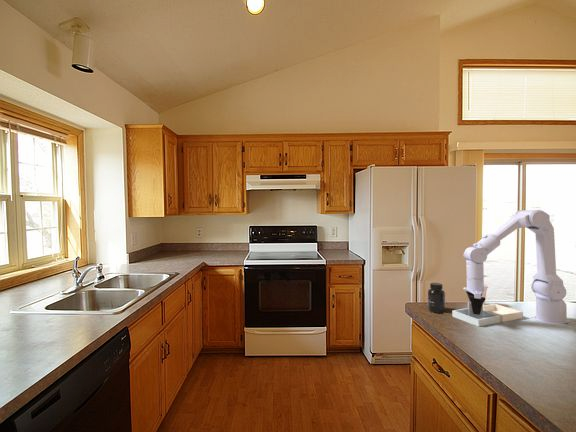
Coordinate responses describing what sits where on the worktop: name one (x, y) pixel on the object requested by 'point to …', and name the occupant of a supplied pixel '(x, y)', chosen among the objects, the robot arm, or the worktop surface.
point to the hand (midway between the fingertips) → (475, 311)
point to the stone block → (470, 312)
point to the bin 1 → (486, 320)
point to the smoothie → (484, 293)
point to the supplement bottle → (436, 298)
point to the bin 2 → (503, 312)
